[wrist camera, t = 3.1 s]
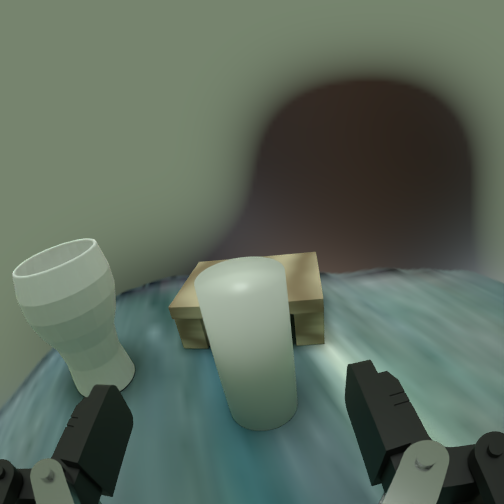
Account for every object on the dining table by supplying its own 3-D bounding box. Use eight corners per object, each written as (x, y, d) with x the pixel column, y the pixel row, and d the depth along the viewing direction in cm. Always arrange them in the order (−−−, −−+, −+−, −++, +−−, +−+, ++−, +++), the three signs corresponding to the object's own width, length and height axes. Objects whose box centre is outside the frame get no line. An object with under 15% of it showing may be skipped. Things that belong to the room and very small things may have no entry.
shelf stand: (318, 291, 42) (315, 251, 40) (324, 346, 31) (323, 298, 29) (207, 299, 45) (199, 262, 43) (182, 350, 34) (168, 307, 32)
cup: (59, 412, 24) (-10, 289, 19) (76, 356, 34) (31, 251, 29) (146, 401, 26) (86, 263, 21) (147, 342, 36) (110, 229, 31)
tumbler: (279, 373, 28) (262, 250, 24) (310, 413, 23) (302, 278, 18) (221, 395, 27) (186, 271, 22) (244, 440, 21) (206, 308, 17)
